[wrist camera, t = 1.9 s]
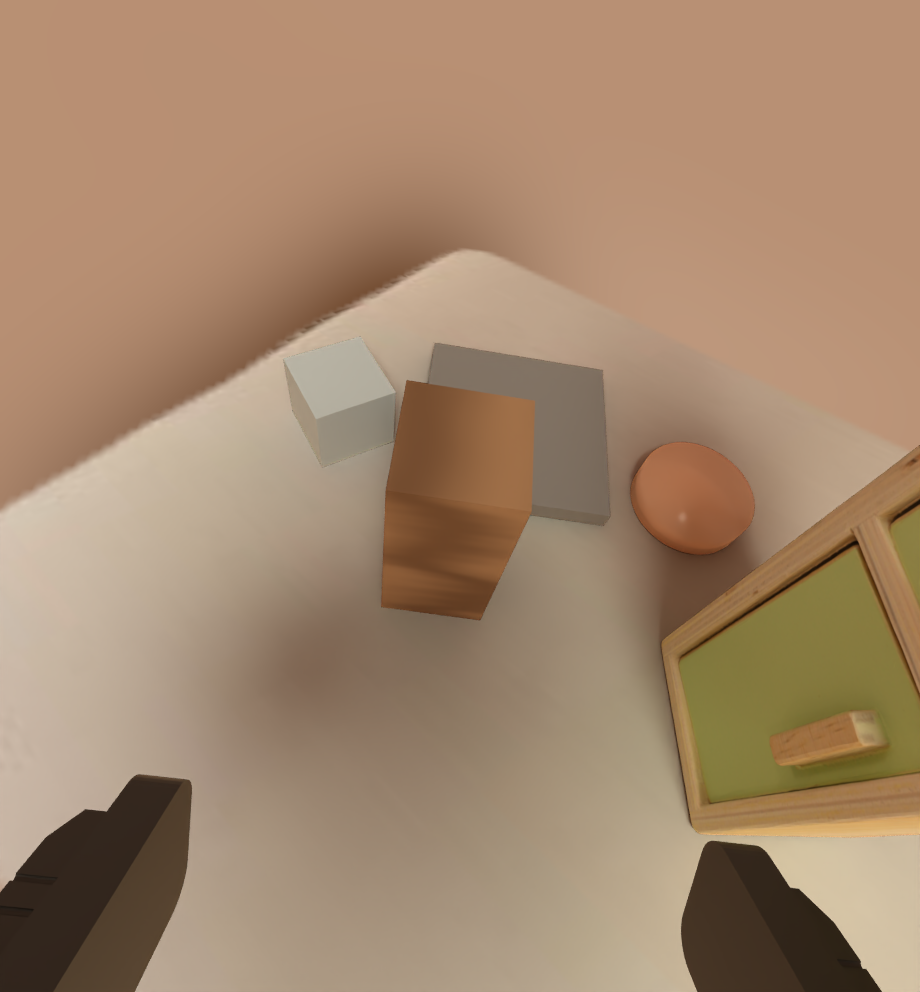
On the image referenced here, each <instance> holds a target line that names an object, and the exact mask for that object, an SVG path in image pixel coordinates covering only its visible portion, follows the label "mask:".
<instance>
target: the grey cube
mask: <svg viewBox="0 0 920 992" xmlns="http://www.w3.org/2000/svg"><path fill="white" fill-rule="evenodd" d="M283 361H284V366H285V372H286V377H287V383H288V388H289V394H290V399H291V405H292V411H293V413H294V415H295V417H296V419H297V420H298V422H299V424H300V426H301V428H302V430H303V432H304V434H305V436H306V438H307V440H308V441H309V443H310V445H311V447H312V449H313V451H314V453H315V455H316V457H317V459H318V461H319V462H320V464H321V466H322V468H323V467H325V466H328V465H331V464H334V463H336V462H339V461H342V460H345V459H347V458H350V457H353V456H355V455H358V454H361V453H364V452H366V451H369V450H372V449H375V448H377V447H380V446H383V445H385V444H388V443H391V442H393V439H394V420H395V400H396V392H395V390H394V388H393V387H392V385H391V384H390V382H389V381H388V379H387V377H386V376H385V374H384V373H383V371H382V370H381V368H380V366H379V365H378V363H377V362H376V360H375V359H374V357H373V355H372V354H371V352H370V351H369V349H368V348H367V346H366V344H365V343H364V341H363V340H362V338H361V337H356V338H353V339H349V340H346V341H342V342H339V343H335V344H332V345H328V346H325V347H322V348H318V349H315V350H311V351H308V352H304V353H301V354H297V355H294V356H290V357H287V358H284V359H283Z"/></svg>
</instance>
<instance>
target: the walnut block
mask: <svg viewBox="0 0 920 992" xmlns="http://www.w3.org/2000/svg"><path fill="white" fill-rule="evenodd" d="M534 418H535V401H534V400H528V399H521V398H515V397H509V396H503V395H496V394H490V393H484V392H477V391H471V390H465V389H459V388H452V387H446V386H440V385H433V384H427V383H421V382H415V381H408V380H407V381H406V386H405V392H404V397H403V402H402V407H401V413H400V418H399V423H398V429H397V434H396V439H395V444H394V450H393V455H392V460H391V465H390V471H389V476H388V481H387V486H386V498H385V524H384V549H383V575H382V601H381V607H385V608H393V609H400V610H408V611H415V612H422V613H430V614H437V615H445V616H452V617H460V618H467V619H475V620H480V619H481V617H482V615H483V613H484V611H485V609H486V607H487V605H488V602H489V600H490V598H491V596H492V594H493V592H494V590H495V588H496V586H497V583H498V581H499V579H500V577H501V575H502V573H503V571H504V569H505V567H506V565H507V562H508V560H509V558H510V556H511V554H512V552H513V550H514V548H515V546H516V543H517V541H518V539H519V537H520V535H521V533H522V531H523V529H524V527H525V525H526V522H527V520H528V518H529V516H530V514H531V512H532V483H533V450H534Z"/></svg>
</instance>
